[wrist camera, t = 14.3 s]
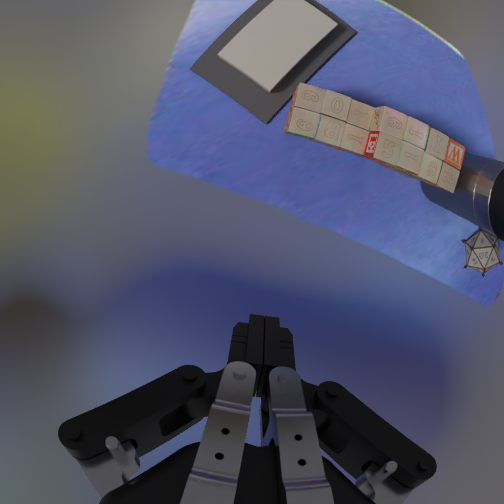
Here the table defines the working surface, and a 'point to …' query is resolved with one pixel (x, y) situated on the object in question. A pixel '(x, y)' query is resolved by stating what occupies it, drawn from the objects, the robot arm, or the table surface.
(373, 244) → the table surface
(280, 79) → the tile
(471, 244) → the game die
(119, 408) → the robot arm
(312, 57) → the mat
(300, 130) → the stack of blocks
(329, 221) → the table surface
